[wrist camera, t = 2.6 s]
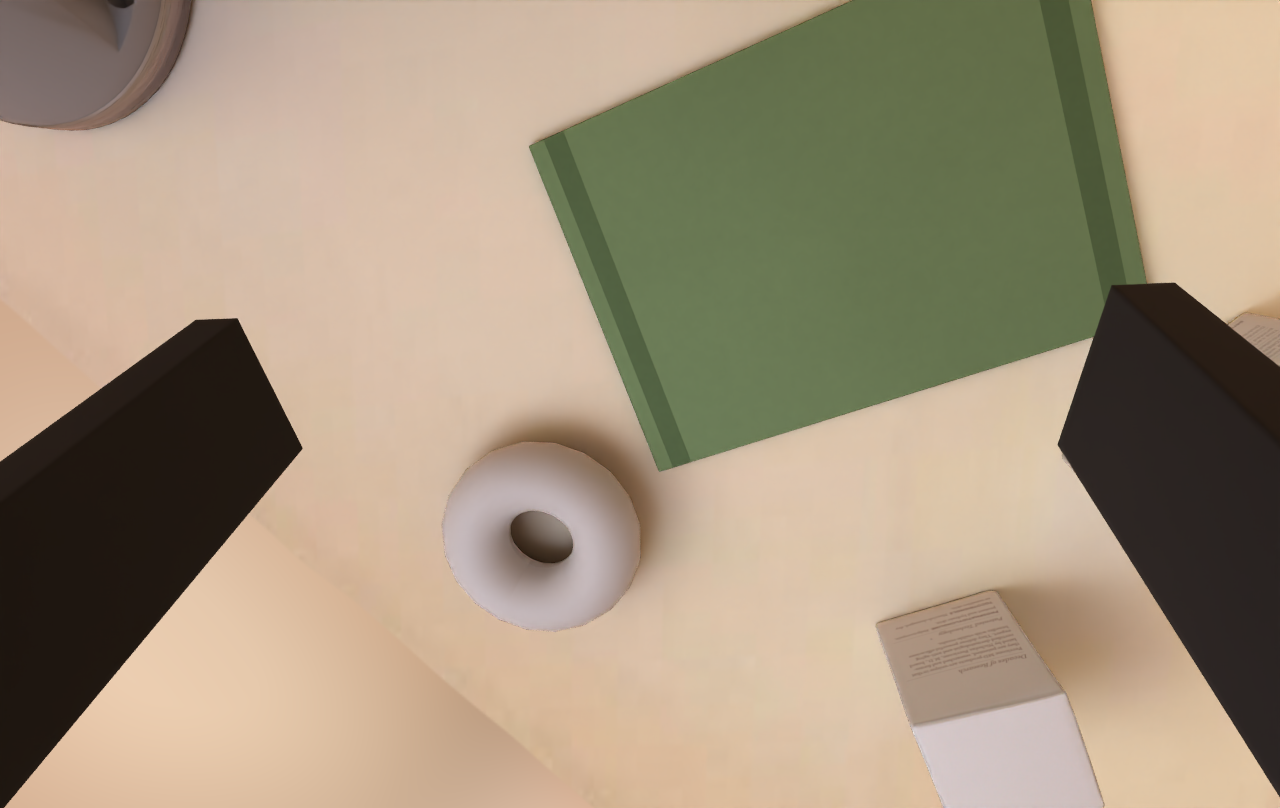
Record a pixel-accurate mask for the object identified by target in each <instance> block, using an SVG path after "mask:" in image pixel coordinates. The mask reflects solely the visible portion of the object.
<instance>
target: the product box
mask: <svg viewBox="0 0 1280 808" xmlns="http://www.w3.org/2000/svg"><path fill="white" fill-rule="evenodd" d="M876 629H877V633H878V636H879V639H880V641H881V644H882V647H883V650H884V653H885V655H886V658H887V661H888V664H889V666H890V669H891V672H892V674H893V677H894V680H895V683H896V685H897V689H898V692H899V695H900V698H901V701H902V704H903V707H904V710H905V713H906V716H907V718H908V721H909V724H910V727H911V729H912V732H913V734H914V737H915V739H916V741H917V744H918V746H919V749H920V751H921V754H922V756H923V759H924V761H925V763H926V766H927V768H928V771H929V773H930V776H931V778H932V781H933V783H934V786H935V788H936V791H937V793H938V796H939V798H940V801H941V803H942V806H943V808H1104V802H1103V799H1102V795H1101V792H1100V789H1099V786H1098V783H1097V780H1096V777H1095V773H1094V770H1093V767H1092V764H1091V761H1090V758H1089V755H1088V753H1087V750H1086V746H1085V743H1084V740H1083V737H1082V735H1081V732H1080V729H1079V726H1078V723H1077V720H1076V717H1075V714H1074V712H1073V709H1072V706H1071V704H1070V701H1069V699H1068V696H1067V694H1066V692H1065V691H1064V689H1063V688H1062V686H1061V685H1060V684H1059V682H1058V681H1057V679H1056V678H1055V676H1054V675H1053V673H1052V672H1051V671H1050V669H1049V668H1048V666H1047V665H1046V663H1045V662H1044V661H1043V659H1042V658H1041V656H1040V655H1039V653H1038V652H1037V650H1036V649H1035V647H1034V646H1033V645H1032V643H1031V642H1030V640H1029V639H1028V637H1027V636H1026V634H1025V633H1024V631H1023V630H1022V628H1021V627H1020V625H1019V624H1018V622H1017V621H1016V619H1015V618H1014V616H1013V615H1012V613H1011V612H1010V610H1009V609H1008V607H1007V606H1006V604H1005V602H1004V601H1003V600H1002V598H1001V596H1000V595H999V593H998V592H996V591H991V590H989V591H986V592H982V593H978V594H975V595H972V596H969V597H965V598H962V599H959V600H956V601H952V602H949V603H946V604H942V605H939V606H935V607H932V608H929V609H925V610H922V611H918V612H914V613H911V614H907V615H904V616H900V617H896V618H893V619H890V620H886V621H883V622H880V623H877V624H876Z"/></svg>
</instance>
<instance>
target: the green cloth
mask: <svg viewBox="0 0 1280 808" xmlns="http://www.w3.org/2000/svg"><path fill="white" fill-rule="evenodd" d="M529 148H530V151H531V153H532V156H533V158H534V161H535V163H536V166H537V168H538V171H539V173H540V176H541V178H542V181H543V183H544V186H545V188H546V191H547V193H548V196H549V198H550V200H551V203H552V205H553V208H554V210H555V213H556V215H557V218H558V220H559V223H560V225H561V228H562V230H563V233H564V235H565V238H566V240H567V243H568V245H569V248H570V250H571V253H572V255H573V258H574V260H575V263H576V265H577V268H578V270H579V273H580V275H581V278H582V280H583V283H584V285H585V288H586V290H587V293H588V295H589V298H590V300H591V303H592V305H593V308H594V310H595V313H596V315H597V318H598V320H599V323H600V325H601V328H602V330H603V333H604V335H605V338H606V340H607V343H608V345H609V348H610V350H611V353H612V355H613V358H614V360H615V363H616V365H617V368H618V370H619V373H620V375H621V378H622V380H623V383H624V385H625V388H626V390H627V393H628V395H629V398H630V400H631V403H632V405H633V408H634V410H635V413H636V415H637V418H638V420H639V423H640V425H641V428H642V430H643V433H644V435H645V437H646V440H647V442H648V445H649V447H650V450H651V452H652V455H653V457H654V460H655V462H656V465H657V467H658V470H659V472H660V471H664V470H667V469H670V468H673V467H677V466H680V465H683V464H686V463H689V462H692V461H696V460H699V459H702V458H705V457H709V456H712V455H715V454H718V453H721V452H725V451H728V450H731V449H734V448H737V447H741V446H744V445H747V444H750V443H754V442H757V441H760V440H763V439H766V438H770V437H773V436H776V435H779V434H782V433H786V432H789V431H792V430H795V429H799V428H802V427H805V426H808V425H811V424H815V423H818V422H821V421H824V420H827V419H831V418H834V417H837V416H840V415H844V414H847V413H850V412H853V411H856V410H860V409H863V408H866V407H869V406H872V405H876V404H879V403H882V402H885V401H889V400H892V399H895V398H898V397H901V396H905V395H908V394H911V393H914V392H917V391H921V390H924V389H927V388H930V387H934V386H937V385H940V384H943V383H946V382H950V381H953V380H956V379H959V378H962V377H966V376H969V375H972V374H975V373H979V372H982V371H985V370H988V369H991V368H995V367H998V366H1001V365H1004V364H1007V363H1011V362H1014V361H1017V360H1020V359H1023V358H1027V357H1030V356H1033V355H1036V354H1040V353H1043V352H1046V351H1049V350H1052V349H1056V348H1059V347H1062V346H1065V345H1068V344H1072V343H1075V342H1078V341H1081V340H1085V339H1088V338H1091V337H1094V335H1095V332H1096V329H1097V327H1098V324H1099V321H1100V318H1101V315H1102V312H1103V309H1104V306H1105V303H1106V300H1107V297H1108V294H1109V291H1110V288H1111V285H1128V284H1147V282H1146V277H1145V272H1144V267H1143V262H1142V257H1141V252H1140V247H1139V242H1138V237H1137V232H1136V227H1135V222H1134V216H1133V211H1132V206H1131V201H1130V196H1129V191H1128V186H1127V181H1126V176H1125V171H1124V166H1123V161H1122V156H1121V151H1120V146H1119V141H1118V135H1117V130H1116V125H1115V120H1114V115H1113V110H1112V105H1111V100H1110V95H1109V90H1108V85H1107V80H1106V75H1105V70H1104V65H1103V60H1102V54H1101V49H1100V44H1099V39H1098V34H1097V29H1096V24H1095V19H1094V14H1093V9H1092V4H1091V0H852V1H850V2H848V3H846V4H844V5H841V6H839V7H837V8H835V9H832V10H830V11H828V12H826V13H824V14H821V15H819V16H817V17H815V18H812V19H810V20H808V21H806V22H804V23H801V24H799V25H797V26H795V27H792V28H790V29H788V30H786V31H784V32H781V33H779V34H777V35H775V36H772V37H770V38H768V39H766V40H764V41H761V42H759V43H757V44H755V45H752V46H750V47H748V48H746V49H744V50H741V51H739V52H737V53H735V54H732V55H730V56H728V57H726V58H724V59H721V60H719V61H717V62H715V63H712V64H710V65H708V66H706V67H704V68H701V69H699V70H697V71H695V72H692V73H690V74H688V75H686V76H684V77H681V78H679V79H677V80H675V81H673V82H670V83H668V84H666V85H664V86H661V87H659V88H657V89H655V90H653V91H650V92H648V93H646V94H644V95H641V96H639V97H637V98H635V99H633V100H630V101H628V102H626V103H624V104H621V105H619V106H617V107H615V108H613V109H610V110H608V111H606V112H604V113H601V114H599V115H597V116H595V117H593V118H590V119H588V120H586V121H584V122H581V123H579V124H577V125H575V126H573V127H570V128H568V129H566V130H564V131H561V132H559V133H557V134H555V135H553V136H550V137H548V138H546V139H544V140H541V141H539V142H537V143H535V144H533V145H530V146H529Z"/></svg>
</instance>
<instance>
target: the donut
mask: <svg viewBox="0 0 1280 808" xmlns="http://www.w3.org/2000/svg"><path fill="white" fill-rule="evenodd" d="M528 511H541V512H544V513H547V514H550V515H552V516H554V517H555V518H557V519H558V520H559V521H561V522H562V523H563V524H564V525H565V526H566V527H567V529H568V530H569V531H570V534H571V536H572V539H573V550H572V553H571V554H570V556H569V557H568V558H566V559H564V560H563V561H561V562H557V563H542V562H539V561H536V560H533V559H531V558H530V557H528V556H527V555H525V554H524V553H522V552H521V551H520V550H519V548H518V547H517V546H516V545H515V543H514V542H513V539H512V537H511V527H510V526H511V523H512V521H513V520H514V518H515V517H516V516H517V515H519V514H520V513H524V512H528ZM442 531H443V540H444V549H445V557H446V559H447V561H448V563H449V565H450V568H451V570H452V572H453V574H454V577H455V579H456V581H457V583H458V584H459V585H460V586H461V587H462V588H463V590H464V591H465V592H466V593H467V594H468V595H469V597H470V598H471V599H472V600H473V601H474V602H475V604H477V605H478V606H480V607H481V608H483V609H484V610H486V611H487V612H489V613H490V614H492V615H493V616H495V617H496V618H497V619H499V620H501V621H504V622H507V623H510V624H513V625H515V626H518V627H521V628H524V629H527V630H541V631H555V632H556V631H560V630H565V629H569V628H574V627H579V626H583V625H585V624H587V623H589V622H591V621H592V620H594V619H596V618H597V617H599V616H601V615H603V614H604V613H606V612H608V611H609V610H611V609H612V608H613V606H614V605H615V604H616V603H617V602H618V601H619V599H620V598H621V597H622V596H623V595H624V593H625V592H626V591H627V590H628V589H629V587H630V585H631V583H632V580H633V578H634V575H635V572H636V569H637V566H638V564H639V561H640V558H641V552H640V523H639V520H638V517H637V515H636V512H635V509H634V506H633V504H632V501H631V498H630V496H629V495H628V493H627V492H626V491H625V489H624V488H623V487H622V486H621V484H620V483H619V482H618V480H617V479H616V478H615V477H614V475H613V474H612V473H611V471H609V470H608V469H606V468H605V467H604V466H602V465H601V464H599V463H598V462H596V461H595V460H594V459H592V458H591V457H589V456H588V455H587V454H585V453H583V452H580V451H577V450H574V449H571V448H568V447H565V446H562V445H560V444H557V443H549V442H520V443H517V444H513V445H510V446H506V447H503V448H499V449H496V450H493V451H491V452H490V453H488V454H487V455H485V456H484V457H483V458H481V459H480V460H478V461H477V462H476V463H474V464H473V465H471V466H470V467H469V468H467V469H466V470H465V472H464V473H463V475H462V476H461V478H460V479H459V481H458V482H457V484H456V485H455V487H454V488H453V490H452V491H451V493H450V495H449V497H448V500H447V504H446V508H445V512H444V517H443V521H442Z"/></svg>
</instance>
